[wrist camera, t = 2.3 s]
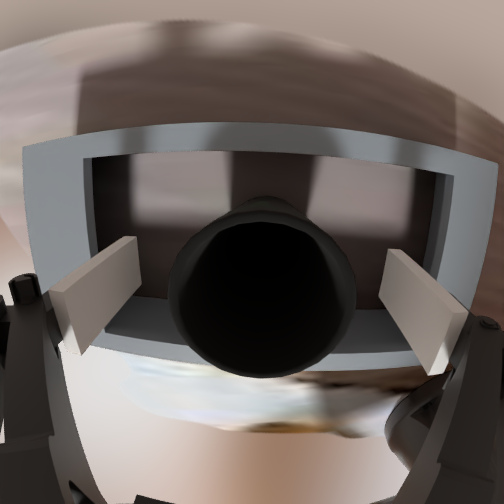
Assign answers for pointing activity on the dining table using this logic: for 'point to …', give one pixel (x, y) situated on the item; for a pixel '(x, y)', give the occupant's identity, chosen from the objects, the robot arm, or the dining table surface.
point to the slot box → (259, 140)
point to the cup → (262, 291)
